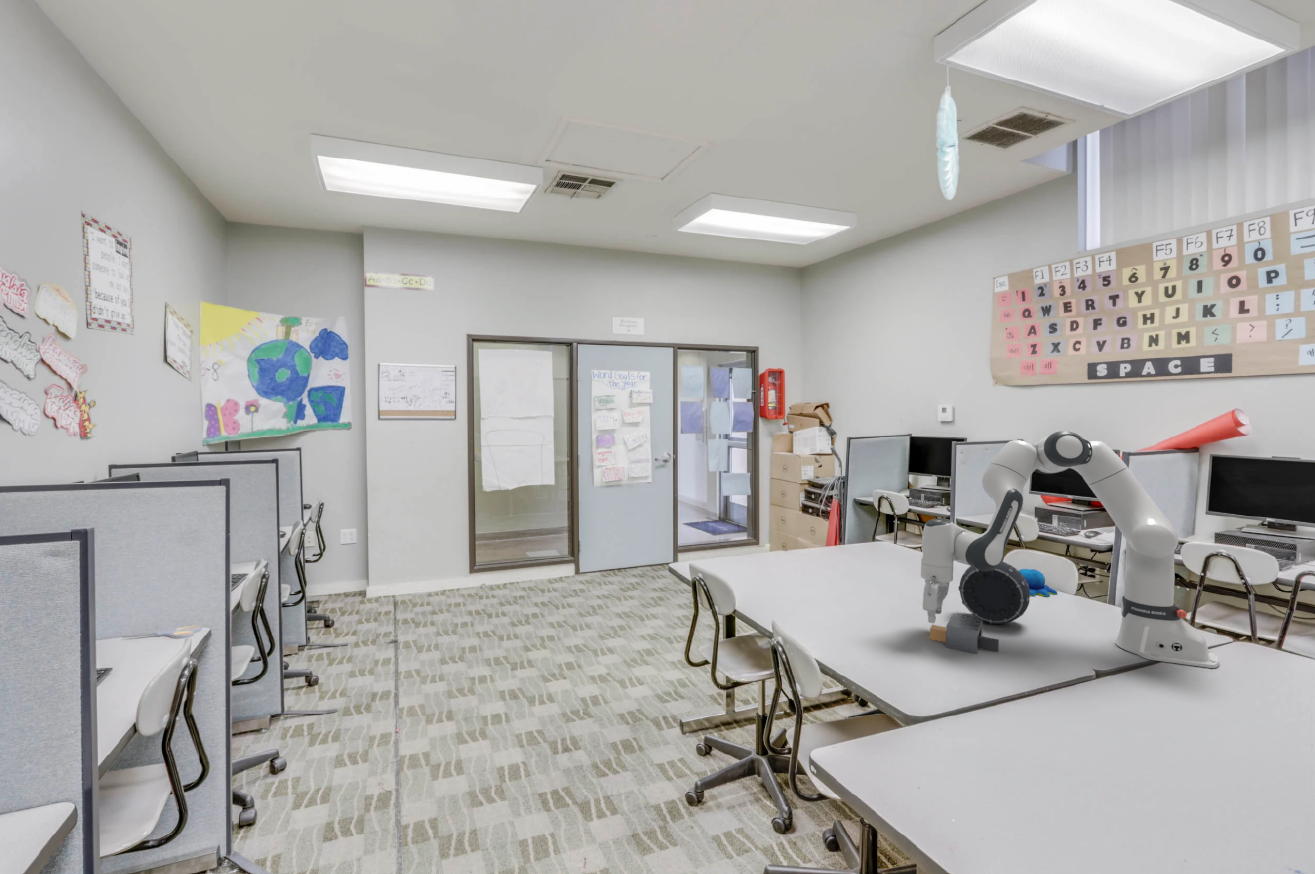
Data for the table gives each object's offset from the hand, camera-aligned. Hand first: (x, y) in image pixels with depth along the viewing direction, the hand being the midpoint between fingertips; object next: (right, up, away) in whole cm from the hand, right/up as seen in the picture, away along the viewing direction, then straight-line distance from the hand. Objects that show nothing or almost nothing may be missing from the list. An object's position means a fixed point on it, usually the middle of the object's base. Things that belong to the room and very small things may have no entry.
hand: (934, 617), depth 183 cm
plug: (+6, -6, -5) cm, 10 cm away
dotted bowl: (+25, -6, +14) cm, 30 cm away
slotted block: (+7, -6, -5) cm, 10 cm away
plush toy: (+58, -4, +48) cm, 76 cm away
